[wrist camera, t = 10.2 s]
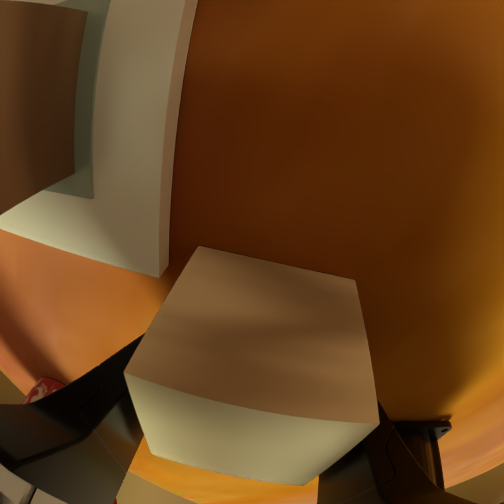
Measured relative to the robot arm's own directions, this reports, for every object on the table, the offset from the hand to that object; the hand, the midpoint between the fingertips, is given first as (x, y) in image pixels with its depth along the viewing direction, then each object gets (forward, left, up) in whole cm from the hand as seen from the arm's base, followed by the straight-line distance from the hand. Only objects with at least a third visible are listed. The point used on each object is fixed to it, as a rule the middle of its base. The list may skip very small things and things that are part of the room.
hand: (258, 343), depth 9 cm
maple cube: (0, 0, -1) cm, 1 cm away
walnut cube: (+9, -7, 0) cm, 11 cm away
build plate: (+9, -7, -1) cm, 11 cm away
